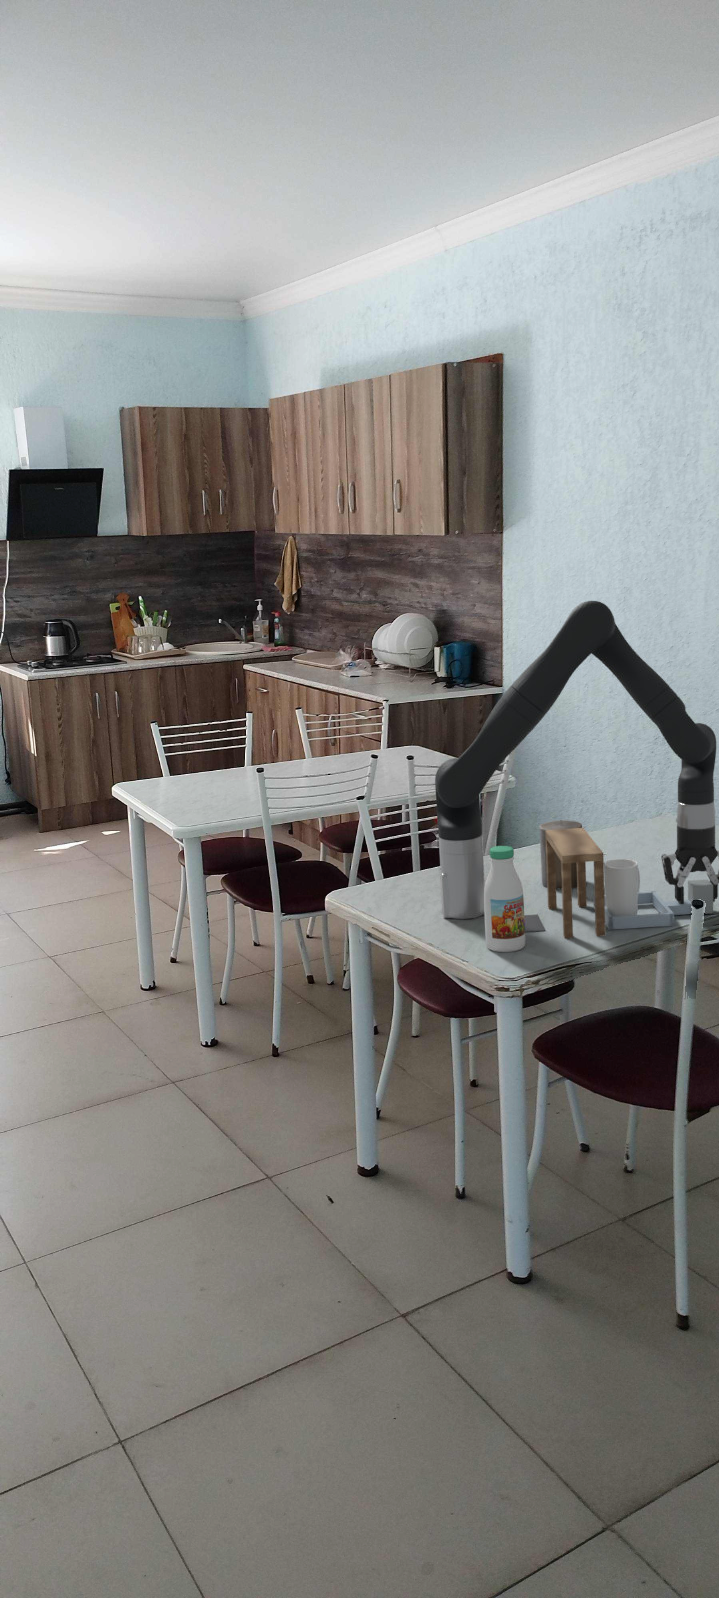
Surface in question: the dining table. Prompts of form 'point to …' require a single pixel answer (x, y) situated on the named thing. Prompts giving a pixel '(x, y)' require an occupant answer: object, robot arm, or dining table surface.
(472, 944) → the dining table surface
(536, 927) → the gray flat slab
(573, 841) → the tunnel
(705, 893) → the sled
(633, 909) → the mug
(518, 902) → the milk bottle
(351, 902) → the dining table surface
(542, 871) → the pillar candle
